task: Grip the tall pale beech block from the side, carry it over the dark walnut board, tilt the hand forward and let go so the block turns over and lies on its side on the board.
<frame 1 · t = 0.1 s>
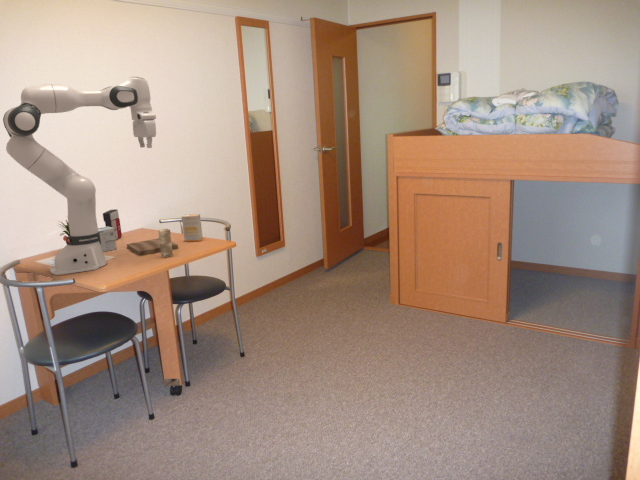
hand: (146, 147, 240), 48 cm above the table, tool pointing down, fingers open, 8 cm apart
packaged product box: (115, 239, 283), on the table
supplement box: (193, 241, 271), on the table
walnut board: (152, 248, 259), on the table
light bulb box: (103, 251, 260), on the table
beech block: (167, 256, 243), on the table
house plant: (72, 251, 262), on the table
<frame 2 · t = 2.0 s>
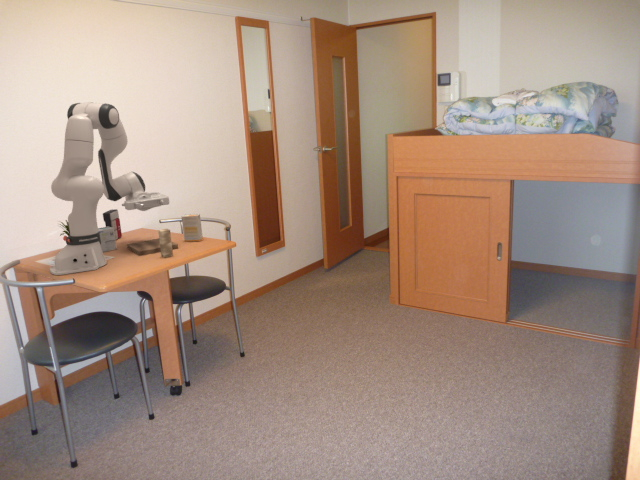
hand: (152, 204, 248), 22 cm above the table, tool horizontal, fingers open, 8 cm apart
nothing on the table moved.
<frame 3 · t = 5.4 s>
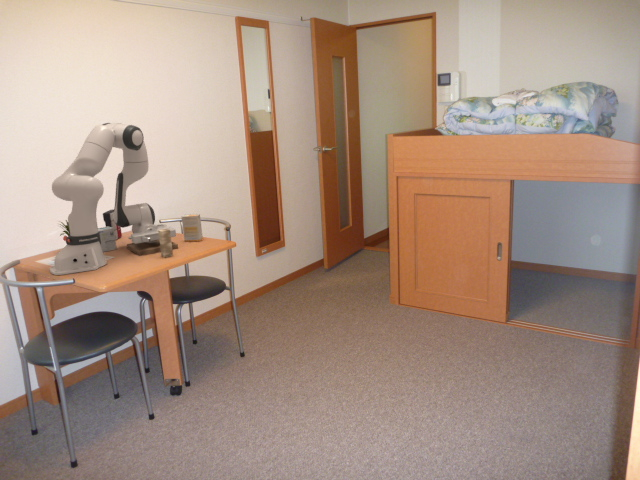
hand: (159, 238, 248), 7 cm above the table, tool horizontal, fingers open, 8 cm apart
nothing on the table moved.
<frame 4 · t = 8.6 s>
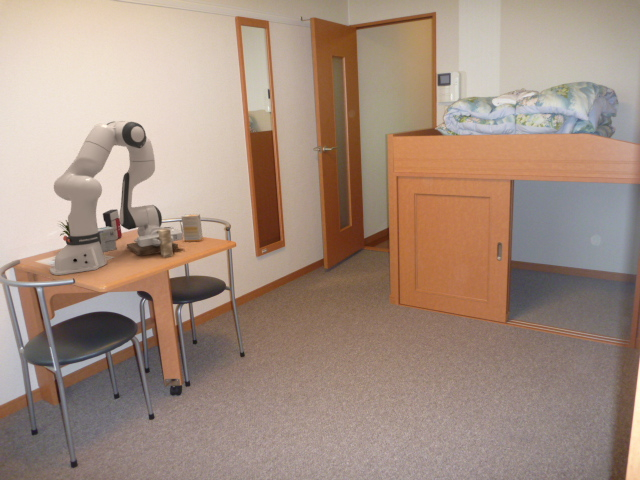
hand: (166, 241, 241), 7 cm above the table, tool horizontal, fingers closed on beech block, 4 cm apart
beech block: (167, 256, 243), on the table, touching gripper
everything else where it was.
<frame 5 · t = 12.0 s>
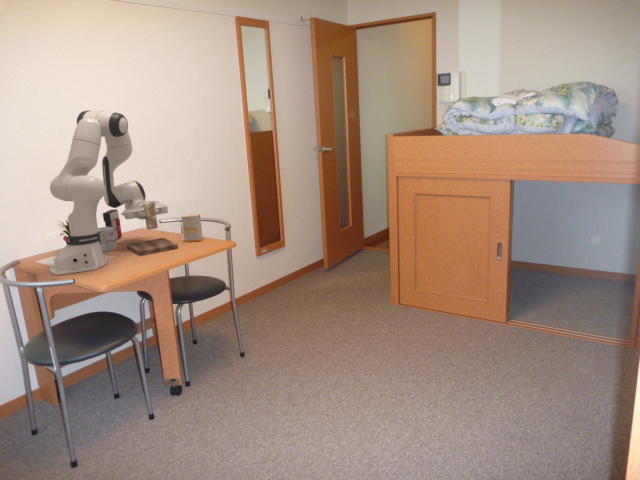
hand: (150, 213, 252), 17 cm above the table, tool horizontal, fingers closed on beech block, 4 cm apart
beech block: (152, 228, 255), point 10 cm above the table, touching gripper
everything else where it was.
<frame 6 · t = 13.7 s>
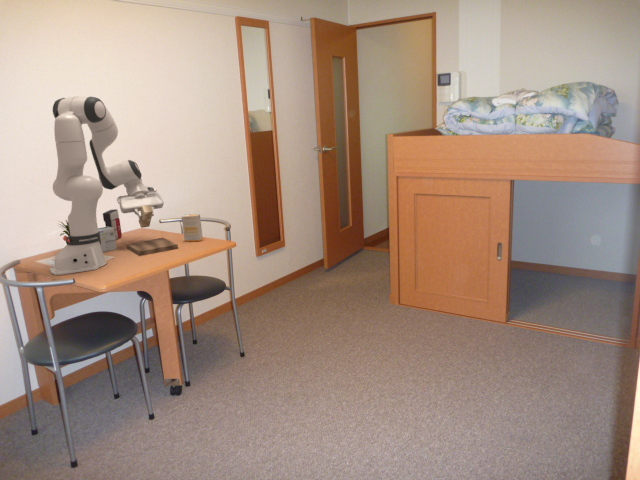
hand: (146, 216, 257), 15 cm above the table, tool tilted 45°, fingers closed on beech block, 4 cm apart
beech block: (144, 223, 263), point 11 cm above the table, tilted 45°, touching gripper
everything else where it was.
when the fingers open (9 cm above the table, at t = 15.7 s): beech block moves 2 cm and tips over, resting on walnut board.
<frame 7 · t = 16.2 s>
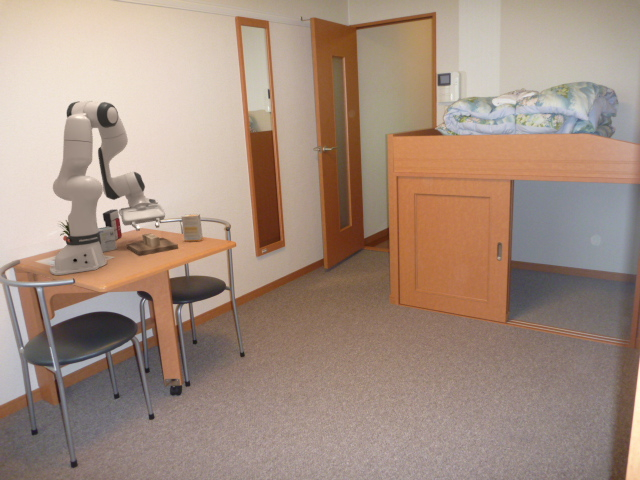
hand: (148, 228, 259), 9 cm above the table, tool tilted 45°, fingers open, 8 cm apart
beech block: (146, 238, 263), point 4 cm above the table, tilted 90°, touching walnut board
everything else where it was.
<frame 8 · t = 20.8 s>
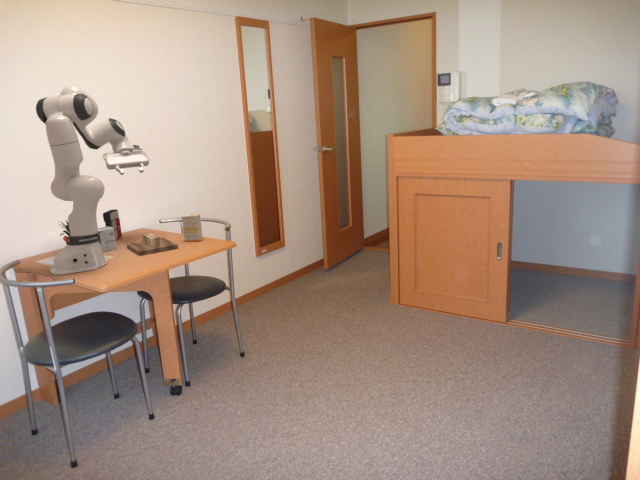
hand: (132, 172, 261), 35 cm above the table, tool tilted 45°, fingers open, 8 cm apart
nothing on the table moved.
at the end: beech block tilted 90°; beech block inside the target area on the walnut board (3.4 cm from its centre), point 4.0 cm above the walnut board's base; the gripper is holding nothing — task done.
